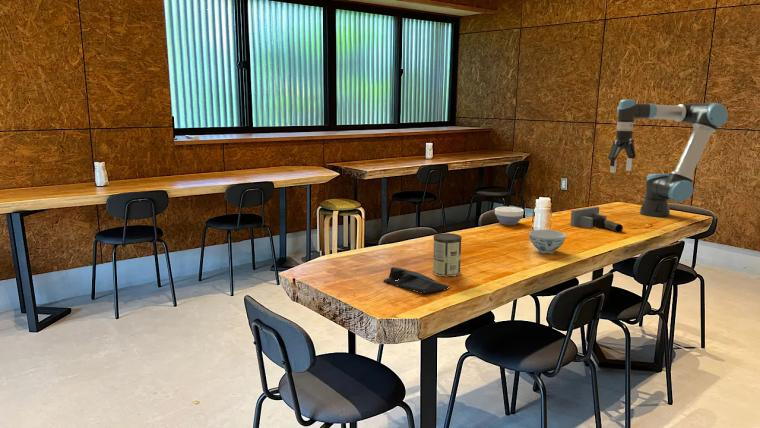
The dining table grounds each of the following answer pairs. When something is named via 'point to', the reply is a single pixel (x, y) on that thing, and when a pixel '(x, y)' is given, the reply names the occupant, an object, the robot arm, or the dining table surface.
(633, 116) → the robot arm
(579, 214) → the socket block
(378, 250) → the dining table surface
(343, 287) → the dining table surface
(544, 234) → the chinaware
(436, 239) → the coffee can
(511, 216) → the bowl
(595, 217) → the black flashlight
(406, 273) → the black cloth
